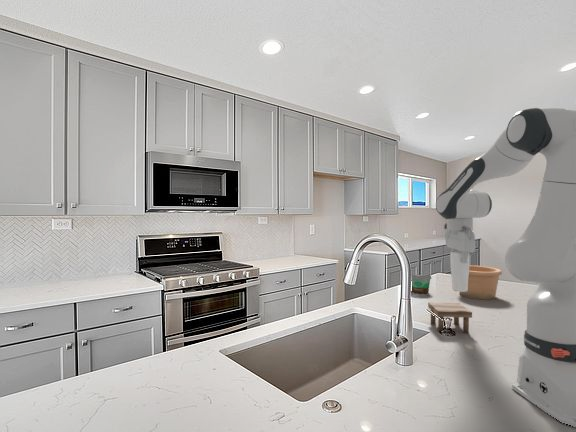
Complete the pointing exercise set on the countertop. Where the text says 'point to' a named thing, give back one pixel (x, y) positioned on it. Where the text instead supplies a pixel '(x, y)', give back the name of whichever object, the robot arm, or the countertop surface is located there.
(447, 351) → the countertop surface
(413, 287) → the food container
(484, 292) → the pottery
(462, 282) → the drinking glass
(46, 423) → the countertop surface
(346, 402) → the countertop surface
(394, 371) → the countertop surface
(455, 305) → the walnut stool
